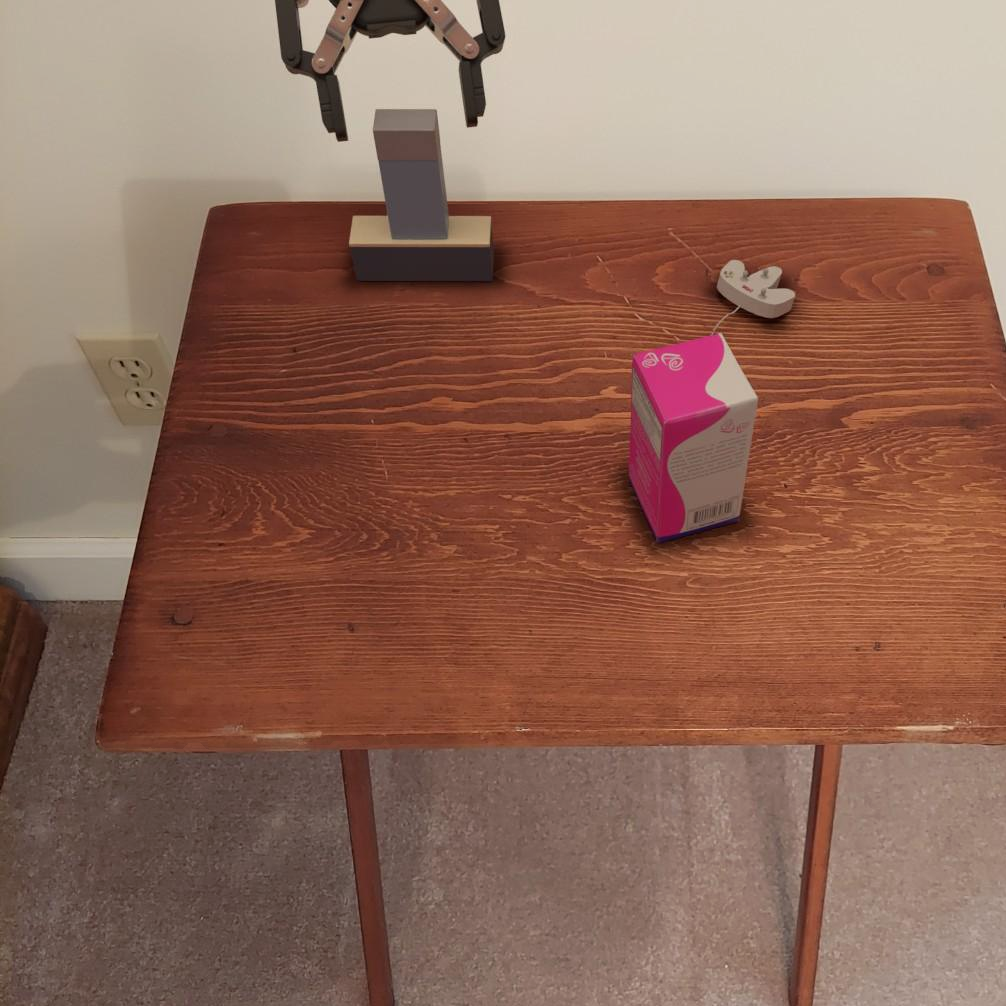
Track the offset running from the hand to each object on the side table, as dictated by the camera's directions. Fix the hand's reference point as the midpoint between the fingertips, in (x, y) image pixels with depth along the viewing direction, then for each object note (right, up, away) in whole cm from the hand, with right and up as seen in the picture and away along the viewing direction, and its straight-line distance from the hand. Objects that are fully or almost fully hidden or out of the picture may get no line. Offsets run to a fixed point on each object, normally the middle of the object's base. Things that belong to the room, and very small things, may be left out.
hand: (407, 132), depth 77 cm
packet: (0, -4, +7) cm, 8 cm away
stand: (0, -6, +10) cm, 12 cm away
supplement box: (+18, -24, -1) cm, 30 cm away
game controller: (+22, -11, +8) cm, 25 cm away
